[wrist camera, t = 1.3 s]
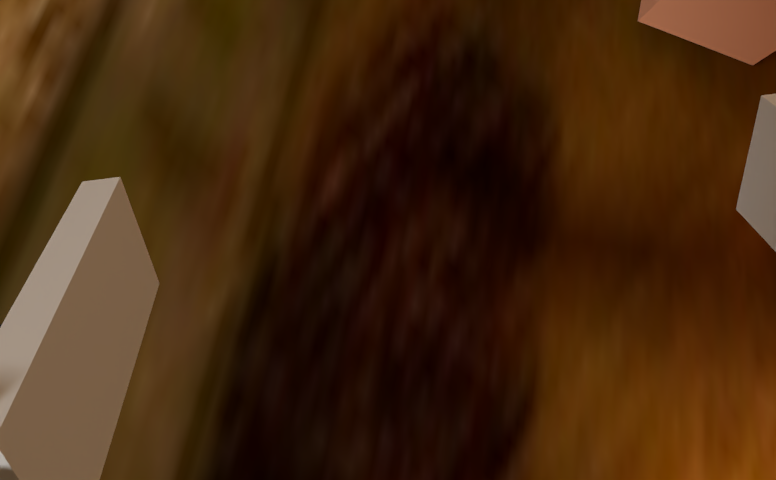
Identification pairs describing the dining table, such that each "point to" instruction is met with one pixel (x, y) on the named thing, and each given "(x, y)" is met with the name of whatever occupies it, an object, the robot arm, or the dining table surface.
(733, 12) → the terracotta plunger
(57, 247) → the robot arm
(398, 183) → the dining table surface
